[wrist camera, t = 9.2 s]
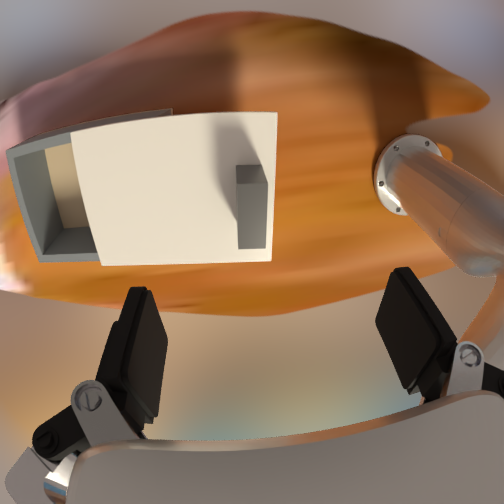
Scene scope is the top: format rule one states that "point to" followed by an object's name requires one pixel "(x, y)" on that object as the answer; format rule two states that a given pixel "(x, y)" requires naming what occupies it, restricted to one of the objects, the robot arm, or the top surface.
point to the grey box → (57, 191)
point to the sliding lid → (180, 187)
